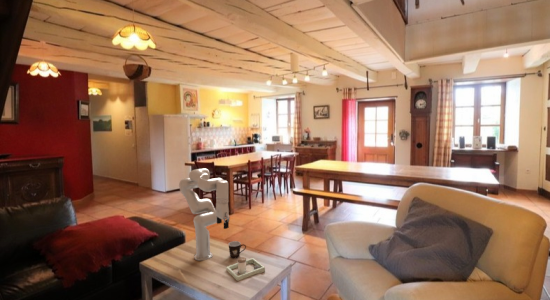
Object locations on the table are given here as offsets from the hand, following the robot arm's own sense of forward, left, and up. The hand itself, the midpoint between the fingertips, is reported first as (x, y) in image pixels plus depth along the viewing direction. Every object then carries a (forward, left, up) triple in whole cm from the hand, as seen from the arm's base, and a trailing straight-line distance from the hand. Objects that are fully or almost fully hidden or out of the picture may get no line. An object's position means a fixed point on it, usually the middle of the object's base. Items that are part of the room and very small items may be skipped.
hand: (222, 225), depth 180 cm
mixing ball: (+14, +17, -30) cm, 37 cm away
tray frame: (+10, +11, -30) cm, 33 cm away
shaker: (+10, +8, -30) cm, 33 cm away
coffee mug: (-10, +15, -30) cm, 35 cm away
